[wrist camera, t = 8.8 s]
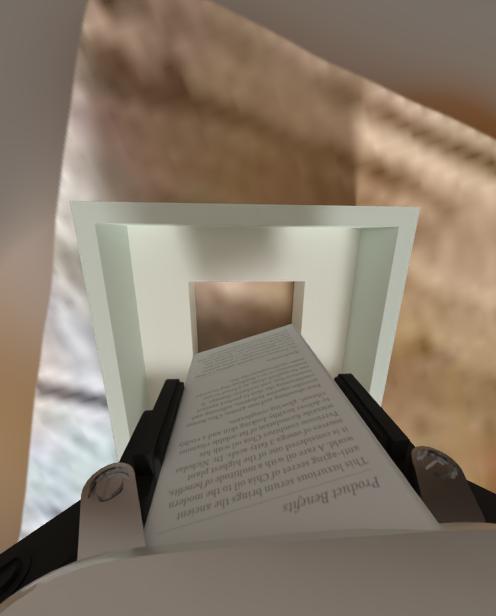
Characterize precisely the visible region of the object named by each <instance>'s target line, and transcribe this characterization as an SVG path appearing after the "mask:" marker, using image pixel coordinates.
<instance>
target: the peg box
mask: <svg viewBox="0 0 496 616" xmlns="http://www.w3.org/2000/svg"><path fill="white" fill-rule="evenodd" d="M70 205H71V211H72V216H73V221H74V227H75V232H76V237H77V243H78V248H79V253H80V259H81V264H82V270H83V275H84V280H85V286H86V291H87V296H88V302H89V307H90V312H91V318H92V323H93V329H94V334H95V339H96V345H97V350H98V355H99V361H100V366H101V371H102V377H103V382H104V387H105V393H106V398H107V404H108V409H109V414H110V420H111V425H112V430H113V436H114V441H115V446H116V452H117V457H118V463H119V461H120V459H121V457H122V455H123V453H124V450H125V448H126V446H127V444H128V442H129V440H130V438H131V436H132V434H133V432H134V430H135V428H136V426H137V424H138V422H139V420H140V418H141V416H142V414H143V412H144V411H145V410H153V408H154V405H155V403H156V401H157V399H158V396H159V394H160V392H161V389H162V387H163V385H164V383H165V381H166V379H179V380H180V382H184V387H185V383H186V379H187V376H188V372H189V369H190V365H191V362H192V358H193V355H194V354H197V353H198V336H197V318H196V300H195V282H240V281H294V295H293V311H292V324H293V325H294V326H295V327H296V328H297V330H298V331H299V332H300V334H301V335H302V337H303V338H304V339H305V341H306V342H307V343H308V345H309V346H310V348H311V349H312V350H313V352H314V353H315V354H316V356H317V357H318V359H319V360H320V361H321V363H322V364H323V365H324V367H325V368H326V370H327V371H328V372H329V374H330V375H331V377H332V378H333V379H334V378H335V377H337V376H338V374H346V373H351V374H352V375H353V376H354V377H355V378H356V379H357V380H358V381H359V383H360V384H361V385H362V386H363V387H364V388H365V389H366V391H367V392H368V393H369V394H370V395H371V396H372V397H373V399H374V400H375V401H376V402H377V403H378V404H379V405H380V407H381V404H382V399H383V394H384V389H385V383H386V378H387V373H388V368H389V363H390V358H391V353H392V348H393V343H394V338H395V333H396V328H397V323H398V318H399V312H400V307H401V302H402V297H403V292H404V287H405V282H406V277H407V272H408V267H409V262H410V257H411V252H412V246H413V241H414V236H415V231H416V226H417V221H418V216H419V211H420V207H385V206H329V205H272V204H216V203H159V202H103V201H70Z"/></svg>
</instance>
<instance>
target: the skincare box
mask: <svg viewBox="0 0 496 616" xmlns="http://www.w3.org/2000/svg"><path fill="white" fill-rule="evenodd" d="M345 529H415V530H441V529H442V527H441V526H440V525H439V523H438V522H437V521H436V519H435V518H434V516H433V515H432V514H431V512H430V511H429V509H428V508H427V507H426V505H425V504H424V503H423V501H422V500H421V499H420V497H419V496H418V495H417V493H416V492H415V491H414V489H413V488H412V487H411V485H410V484H409V482H408V481H407V479H406V478H405V477H404V475H403V474H402V473H401V471H400V470H399V469H398V467H397V466H396V465H395V463H394V462H393V461H392V459H391V458H390V456H389V455H388V454H387V452H386V451H385V450H384V448H383V447H382V445H381V444H380V443H379V441H378V440H377V439H376V437H375V436H374V434H373V433H372V432H371V430H370V429H369V427H368V426H367V425H366V423H365V422H364V421H363V419H362V418H361V417H360V415H359V414H358V412H357V411H356V410H355V408H354V407H353V405H352V404H351V403H350V401H349V400H348V399H347V397H346V396H345V395H344V393H343V392H342V390H341V389H340V388H339V386H338V385H337V384H336V382H335V381H334V379H333V378H332V377H331V375H330V374H329V372H328V371H327V370H326V368H325V367H324V365H323V364H322V363H321V361H320V360H319V359H318V357H317V356H316V354H315V353H314V352H313V350H312V349H311V348H310V346H309V345H308V343H307V342H306V341H305V339H304V338H303V337H302V335H301V334H300V332H299V331H298V330H297V328H296V327H295V326H294V325H293V324H289V325H286V326H283V327H280V328H277V329H274V330H270V331H267V332H264V333H261V334H258V335H255V336H251V337H248V338H245V339H242V340H239V341H236V342H232V343H229V344H226V345H223V346H220V347H216V348H213V349H210V350H207V351H203V352H200V353H197V354H194V355H193V358H192V362H191V365H190V369H189V372H188V376H187V379H186V383H185V387H184V390H183V394H182V397H181V401H180V404H179V407H178V411H177V414H176V418H175V421H174V425H173V428H172V432H171V436H170V439H169V442H168V446H167V450H166V453H165V456H164V460H163V464H162V467H161V471H160V474H159V478H158V482H157V485H156V489H155V492H154V495H153V499H152V503H151V507H150V510H149V513H148V517H147V520H146V524H145V527H144V536H145V542H146V547H147V546H156V545H166V544H176V543H185V542H197V541H209V540H220V539H232V538H244V537H256V536H268V535H281V534H293V533H306V532H319V531H332V530H345Z"/></svg>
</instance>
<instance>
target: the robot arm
mask: <svg viewBox="0 0 496 616" xmlns="http://www.w3.org/2000/svg"><path fill="white" fill-rule="evenodd" d="M334 381H335V382H336V384H337V385H338V386H339V388H340V389H341V390H342V392H343V393H344V395H345V396H346V397H347V399H348V400H349V401H350V403H351V404H352V405H353V407H354V408H355V410H356V411H357V412H358V414H359V415H360V417H361V418H362V419H363V421H364V422H365V423H366V425H367V426H368V427H369V429H370V430H371V432H372V433H373V434H374V436H375V437H376V439H377V440H378V441H379V443H380V444H381V445H382V447H383V448H384V450H385V451H386V452H387V454H388V455H389V456H390V458H391V459H392V461H393V462H394V463H395V465H396V466H397V467H398V469H399V470H400V471H401V473H402V474H403V475H404V477H405V478H406V479H407V481H408V482H409V484H410V485H411V487H412V488H413V489H414V491H415V492H416V493H417V495H418V496H419V497H420V499H421V500H422V501H423V503H424V504H425V505H426V507H427V508H428V509H429V511H430V512H431V514H432V515H433V516H434V518H435V519H436V521H437V522H438V523H439V525H440V526H441V527H442V529H441V530H415V529H345V530H332V531H319V532H306V533H293V534H281V535H268V536H256V537H244V538H232V539H220V540H209V541H197V542H185V543H176V544H166V545H156V546H147V547H146V542H145V536H144V527H145V524H146V520H147V517H148V513H149V510H150V507H151V503H152V499H153V495H154V492H155V489H156V485H157V482H158V478H159V474H160V471H161V467H162V464H163V460H164V456H165V453H166V450H167V446H168V442H169V439H170V436H171V432H172V428H173V425H174V421H175V418H176V414H177V411H178V407H179V404H180V401H181V397H182V394H183V390H184V382H180V380H179V379H166V381H165V383H164V385H163V387H162V389H161V392H160V394H159V396H158V399H157V401H156V403H155V405H154V408H153V410H145V411H144V412H143V414H142V416H141V418H140V420H139V422H138V424H137V426H136V428H135V430H134V432H133V434H132V436H131V438H130V440H129V442H128V444H127V446H126V448H125V450H124V453H123V455H122V457H121V459H120V461H119V463H113V464H110V465H107V466H105V467H103V468H101V469H100V470H98V471H97V472H96V473H94V474H93V475H92V476H91V477H90V479H89V480H88V481H87V482H86V484H85V486H84V487H83V490H82V494H81V500H79V501H78V502H77V503H75V504H74V505H72V506H71V507H69V508H68V509H66V510H65V511H63V512H62V513H60V514H59V515H57V516H56V517H54V518H53V519H51V520H50V521H49V522H47V523H46V524H44V525H43V526H41V527H40V528H38V529H37V530H35V531H34V532H32V533H31V534H29V535H28V536H26V537H25V538H23V539H22V540H21V541H19V542H18V543H16V544H15V545H13V546H12V547H10V548H9V549H7V550H6V551H4V552H3V553H1V554H0V616H496V494H495V493H492V492H490V491H488V490H486V489H484V488H482V487H480V486H478V485H476V484H474V483H472V482H470V481H468V480H466V477H465V475H464V473H463V471H462V469H461V468H460V466H459V465H458V464H457V463H456V462H455V461H454V460H453V459H452V458H450V457H449V456H448V455H446V454H444V453H443V452H441V451H439V450H436V449H434V448H431V447H426V446H417V447H415V446H414V445H413V444H412V443H411V442H410V440H409V439H408V437H407V436H406V435H405V434H404V433H403V432H402V431H401V429H400V428H399V427H398V426H397V425H396V424H395V423H394V421H393V420H392V419H391V418H390V417H389V416H388V415H387V413H386V412H385V411H384V410H383V409H382V408H381V407H380V405H379V404H378V403H377V402H376V401H375V400H374V399H373V397H372V396H371V395H370V394H369V393H368V392H367V391H366V389H365V388H364V387H363V386H362V385H361V384H360V383H359V381H358V380H357V379H356V378H355V377H354V376H353V375H352V374H351V373H346V374H338V376H337V377H335V378H334Z"/></svg>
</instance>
